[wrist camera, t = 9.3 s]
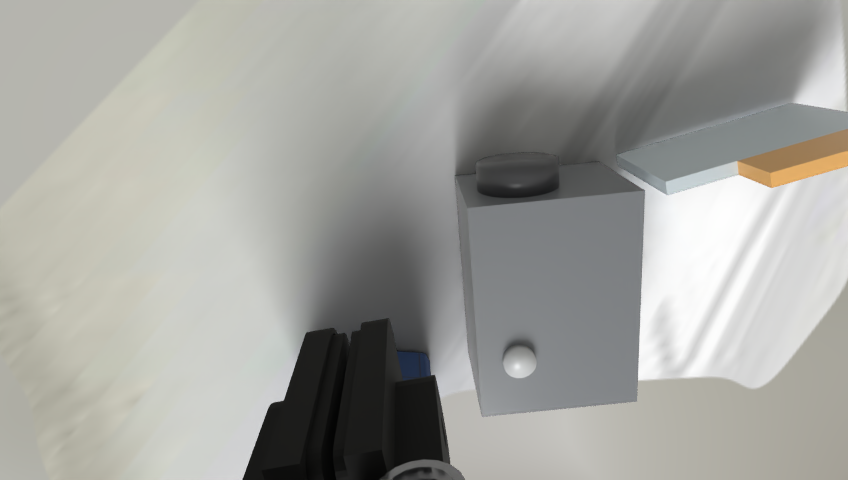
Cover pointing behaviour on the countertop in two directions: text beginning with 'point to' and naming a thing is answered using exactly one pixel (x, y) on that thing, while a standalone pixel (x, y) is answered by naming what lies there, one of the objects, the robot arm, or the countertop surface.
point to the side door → (747, 150)
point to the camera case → (550, 282)
